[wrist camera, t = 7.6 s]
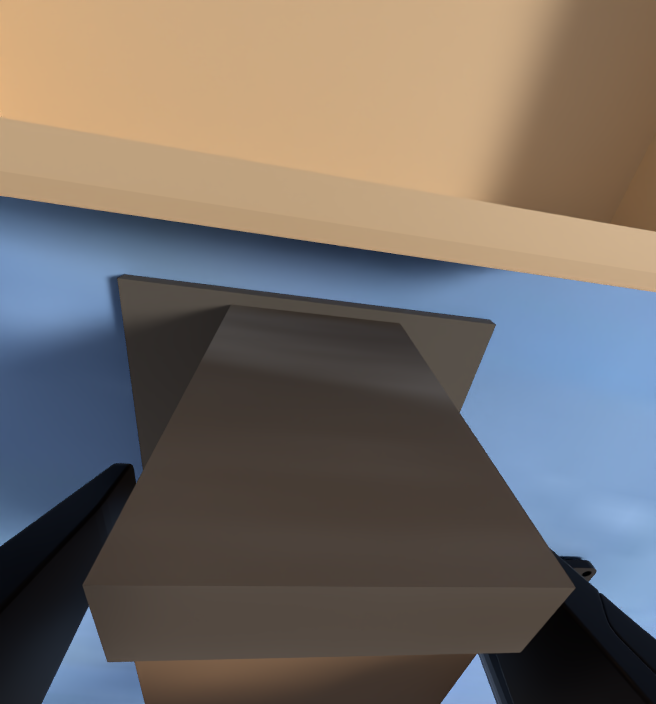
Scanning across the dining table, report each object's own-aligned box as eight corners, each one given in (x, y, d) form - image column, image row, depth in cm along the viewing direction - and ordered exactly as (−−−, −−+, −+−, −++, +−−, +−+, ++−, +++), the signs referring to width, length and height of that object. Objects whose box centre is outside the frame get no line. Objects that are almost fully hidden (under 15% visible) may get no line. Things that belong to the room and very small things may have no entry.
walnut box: (352, 501, 14) (399, 794, 7) (227, 497, 13) (157, 813, 7) (400, 323, 10) (576, 587, 4) (231, 304, 10) (82, 584, 3)
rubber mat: (416, 501, 15) (419, 509, 14) (150, 489, 13) (146, 498, 13) (489, 319, 11) (495, 324, 10) (124, 274, 9) (117, 278, 9)
